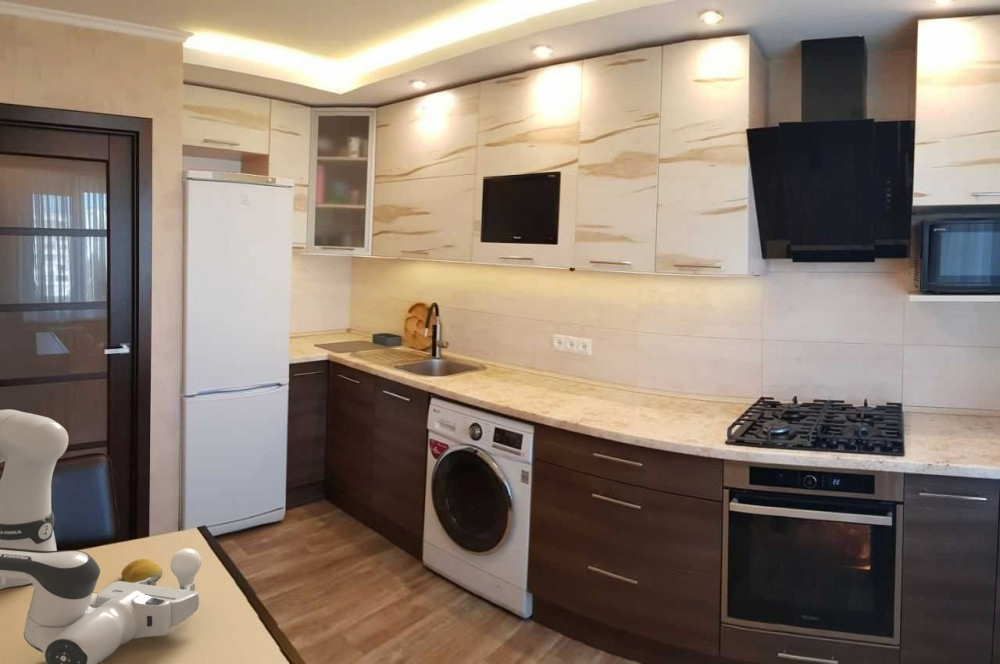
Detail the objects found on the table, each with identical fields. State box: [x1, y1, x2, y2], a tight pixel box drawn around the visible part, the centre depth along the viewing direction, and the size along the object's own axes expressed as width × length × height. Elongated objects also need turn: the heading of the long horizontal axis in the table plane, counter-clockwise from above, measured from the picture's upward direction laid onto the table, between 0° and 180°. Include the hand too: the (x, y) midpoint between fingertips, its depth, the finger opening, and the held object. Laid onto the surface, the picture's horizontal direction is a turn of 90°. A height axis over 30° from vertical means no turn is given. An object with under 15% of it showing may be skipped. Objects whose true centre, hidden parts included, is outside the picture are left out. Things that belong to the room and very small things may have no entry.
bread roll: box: [121, 558, 163, 583], centre depth 165 cm, size 8×9×4 cm
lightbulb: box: [170, 547, 202, 590], centre depth 156 cm, size 6×6×11 cm
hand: (172, 583), depth 150 cm, fingers open, 8 cm apart
